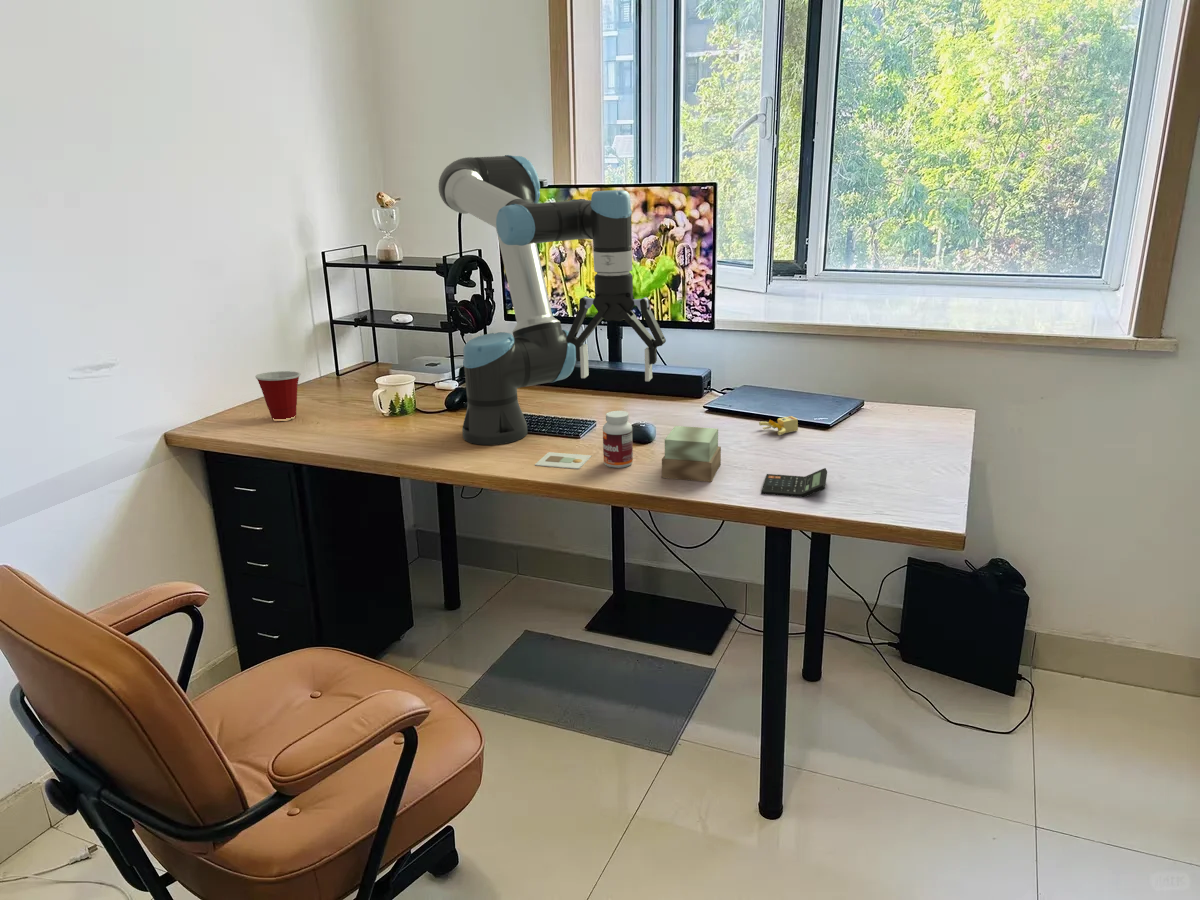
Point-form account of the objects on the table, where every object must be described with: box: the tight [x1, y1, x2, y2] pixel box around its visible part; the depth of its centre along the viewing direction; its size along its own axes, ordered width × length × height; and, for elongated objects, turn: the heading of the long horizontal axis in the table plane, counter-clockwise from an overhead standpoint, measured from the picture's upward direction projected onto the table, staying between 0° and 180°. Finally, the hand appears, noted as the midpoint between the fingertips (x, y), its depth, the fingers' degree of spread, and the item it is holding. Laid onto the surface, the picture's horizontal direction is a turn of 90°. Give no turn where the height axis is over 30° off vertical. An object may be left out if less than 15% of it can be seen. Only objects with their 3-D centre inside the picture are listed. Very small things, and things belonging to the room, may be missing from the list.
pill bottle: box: [602, 410, 634, 469], centre depth 178 cm, size 6×6×11 cm
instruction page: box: [534, 451, 592, 470], centre depth 183 cm, size 10×8×1 cm
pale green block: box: [661, 425, 722, 483], centre depth 173 cm, size 10×10×8 cm
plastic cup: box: [255, 370, 301, 419], centre depth 218 cm, size 11×11×12 cm
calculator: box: [760, 467, 828, 498], centre depth 164 cm, size 9×12×3 cm
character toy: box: [758, 415, 799, 436], centre depth 195 cm, size 8×3×8 cm
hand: (616, 378), depth 174 cm, fingers open, 13 cm apart
